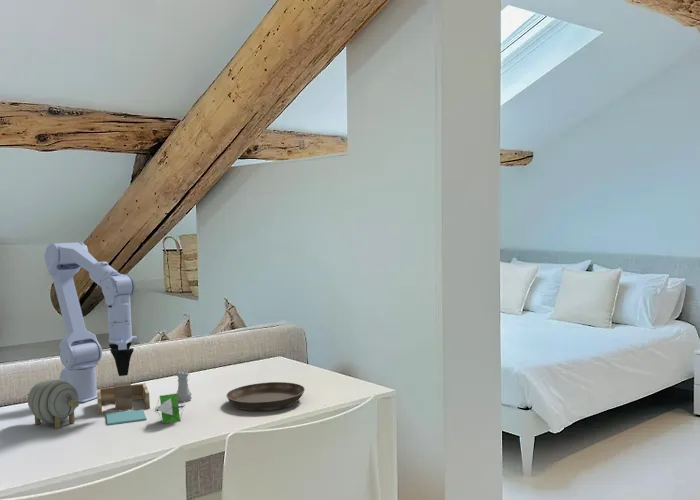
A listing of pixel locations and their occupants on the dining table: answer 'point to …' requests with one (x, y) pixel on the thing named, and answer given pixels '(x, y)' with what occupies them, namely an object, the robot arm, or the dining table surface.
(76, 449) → the dining table surface
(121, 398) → the walnut block
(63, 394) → the toy sheep
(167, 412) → the geometric puzzle
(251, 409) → the plant saucer
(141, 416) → the teal mat
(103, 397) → the oak open-side box
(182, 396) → the rook chess piece
